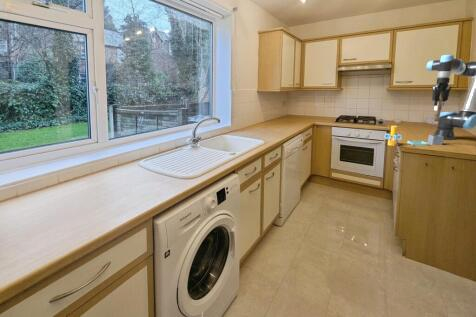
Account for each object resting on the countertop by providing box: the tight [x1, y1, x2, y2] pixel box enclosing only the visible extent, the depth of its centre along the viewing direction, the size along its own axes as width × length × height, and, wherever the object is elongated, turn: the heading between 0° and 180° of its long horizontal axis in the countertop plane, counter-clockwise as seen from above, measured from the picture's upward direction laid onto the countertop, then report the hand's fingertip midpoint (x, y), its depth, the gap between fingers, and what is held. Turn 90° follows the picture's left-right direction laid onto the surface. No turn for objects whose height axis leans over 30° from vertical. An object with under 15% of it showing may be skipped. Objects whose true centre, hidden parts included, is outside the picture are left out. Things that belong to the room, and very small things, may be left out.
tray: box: [406, 140, 430, 147], centre depth 213 cm, size 11×10×2 cm
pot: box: [427, 134, 444, 146], centre depth 212 cm, size 7×7×8 cm
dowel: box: [433, 97, 443, 122], centre depth 206 cm, size 3×3×17 cm
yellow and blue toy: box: [384, 125, 403, 147], centre depth 213 cm, size 12×10×15 cm
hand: (438, 110), depth 206 cm, fingers closed on dowel, 3 cm apart
